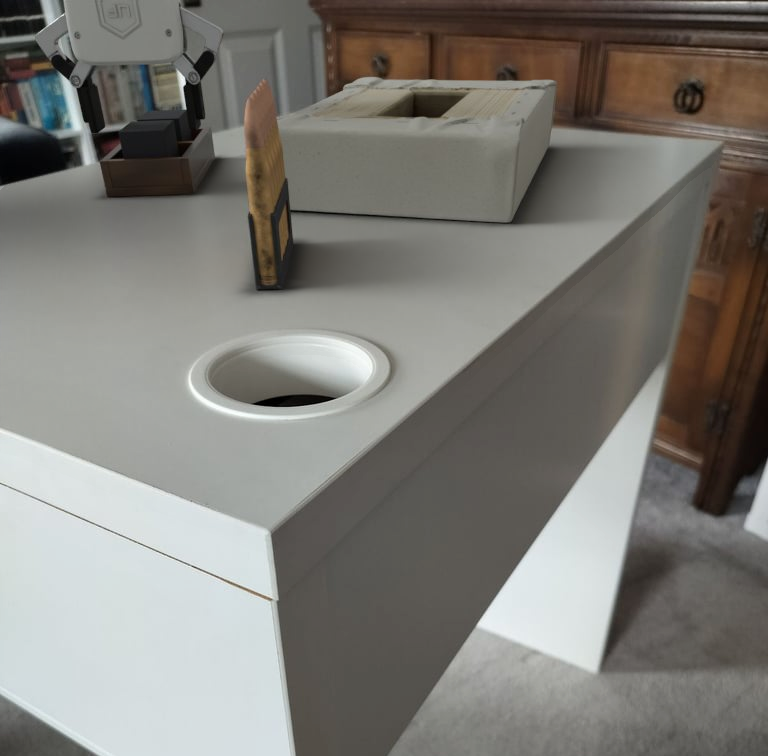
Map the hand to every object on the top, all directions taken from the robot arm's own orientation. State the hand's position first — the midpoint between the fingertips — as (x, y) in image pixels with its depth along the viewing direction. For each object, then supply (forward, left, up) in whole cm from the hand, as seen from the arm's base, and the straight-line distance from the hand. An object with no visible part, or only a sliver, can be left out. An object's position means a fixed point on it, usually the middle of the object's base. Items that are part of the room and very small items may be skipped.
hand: (147, 129), depth 78 cm
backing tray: (0, +4, -5) cm, 7 cm away
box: (+28, 0, -5) cm, 28 cm away
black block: (0, 0, -4) cm, 4 cm away
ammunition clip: (+14, -27, -6) cm, 31 cm away
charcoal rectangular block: (0, +8, -5) cm, 9 cm away
